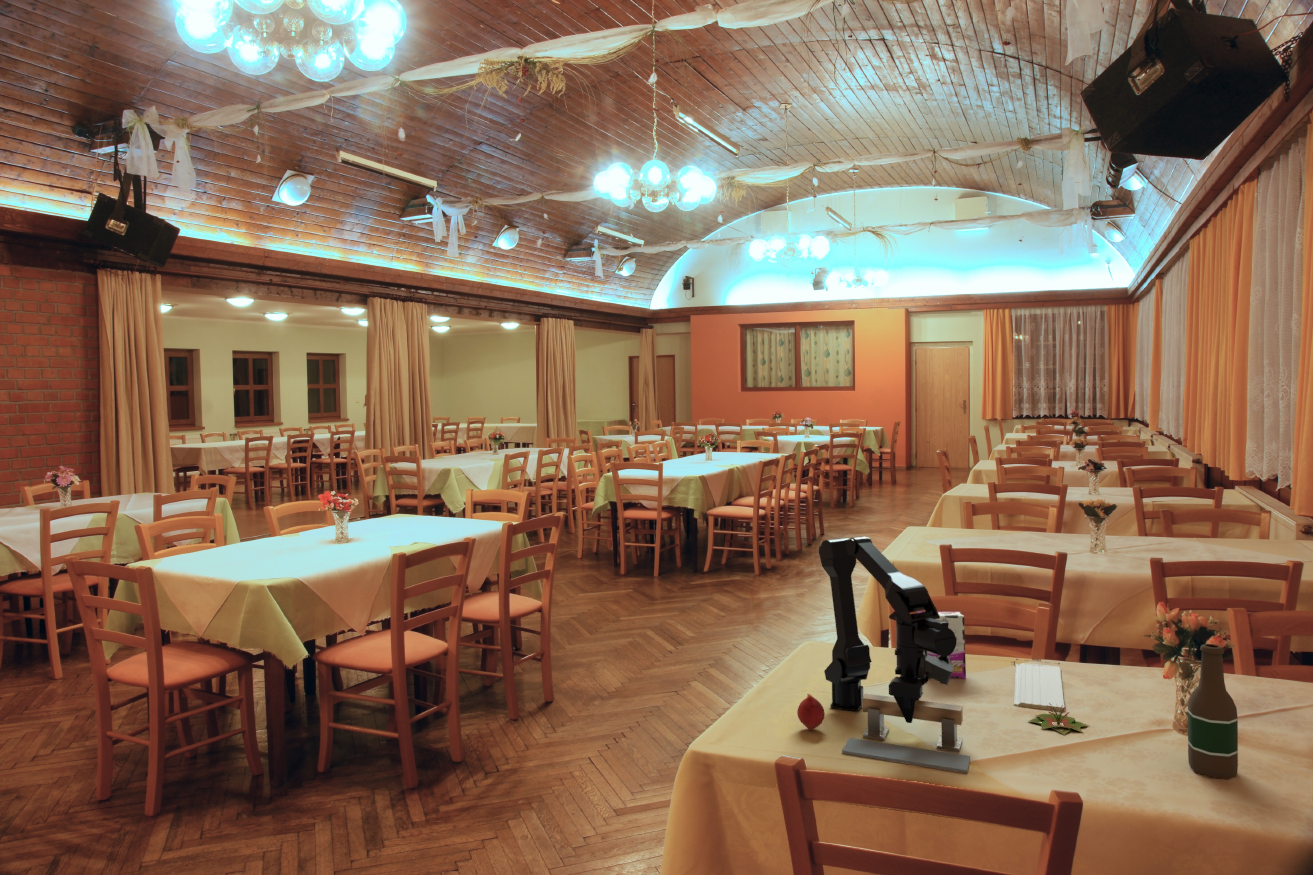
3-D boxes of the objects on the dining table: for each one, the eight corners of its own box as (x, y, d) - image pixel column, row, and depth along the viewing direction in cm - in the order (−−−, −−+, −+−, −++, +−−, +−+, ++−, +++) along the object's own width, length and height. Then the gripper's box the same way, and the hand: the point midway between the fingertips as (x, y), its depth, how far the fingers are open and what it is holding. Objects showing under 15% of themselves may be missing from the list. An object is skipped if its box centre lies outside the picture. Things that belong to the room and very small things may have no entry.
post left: (863, 737, 172) (862, 708, 172) (868, 726, 178) (868, 699, 177) (884, 740, 170) (883, 711, 170) (889, 729, 176) (888, 701, 175)
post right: (936, 748, 166) (936, 718, 165) (940, 737, 171) (939, 708, 171) (959, 751, 164) (958, 721, 163) (962, 740, 169) (961, 711, 169)
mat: (842, 753, 165) (842, 750, 165) (849, 740, 171) (849, 737, 171) (967, 773, 154) (967, 770, 154) (970, 758, 160) (970, 755, 160)
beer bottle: (1178, 763, 156) (1177, 640, 155) (1215, 760, 156) (1215, 638, 156) (1209, 781, 148) (1208, 652, 147) (1248, 778, 149) (1248, 650, 148)
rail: (862, 711, 173) (862, 697, 173) (865, 706, 176) (865, 693, 176) (961, 725, 165) (961, 710, 165) (962, 719, 167) (962, 705, 167)
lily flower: (1101, 729, 174) (1101, 708, 174) (1066, 741, 168) (1066, 720, 168) (1050, 711, 184) (1050, 692, 184) (1016, 722, 179) (1016, 702, 178)
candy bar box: (961, 672, 211) (960, 610, 211) (966, 679, 206) (965, 615, 206) (917, 672, 213) (916, 610, 212) (921, 678, 208) (920, 615, 207)
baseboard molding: (1007, 707, 188) (1064, 714, 183) (1007, 694, 188) (1064, 701, 183) (1010, 666, 216) (1059, 672, 211) (1010, 656, 216) (1059, 661, 211)
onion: (826, 725, 179) (825, 690, 179) (822, 736, 173) (822, 699, 173) (800, 723, 181) (799, 688, 180) (795, 733, 175) (795, 697, 175)
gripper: (945, 661, 158) (946, 739, 158) (955, 635, 175) (956, 706, 175) (887, 654, 163) (888, 730, 163) (902, 630, 180) (903, 699, 180)
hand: (911, 716), depth 170 cm, fingers open, 7 cm apart
